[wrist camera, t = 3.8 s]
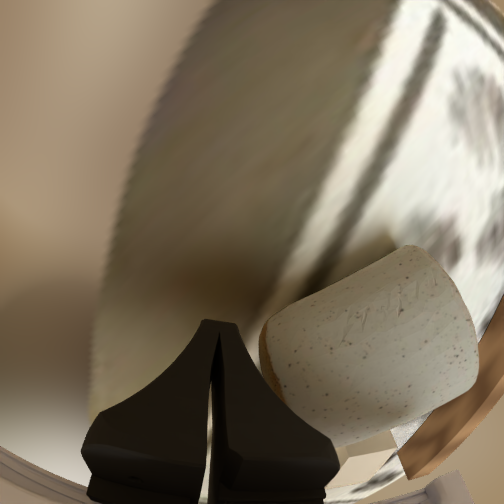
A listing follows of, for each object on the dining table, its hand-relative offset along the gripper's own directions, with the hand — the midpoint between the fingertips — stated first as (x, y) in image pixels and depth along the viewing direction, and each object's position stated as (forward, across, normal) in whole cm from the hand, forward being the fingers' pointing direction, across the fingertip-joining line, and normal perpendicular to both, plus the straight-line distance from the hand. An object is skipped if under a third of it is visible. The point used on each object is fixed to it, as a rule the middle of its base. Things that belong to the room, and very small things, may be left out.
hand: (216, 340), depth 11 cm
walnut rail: (+3, -22, +5) cm, 23 cm away
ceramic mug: (+4, -8, +1) cm, 9 cm away
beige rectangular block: (+4, -12, +12) cm, 17 cm away
